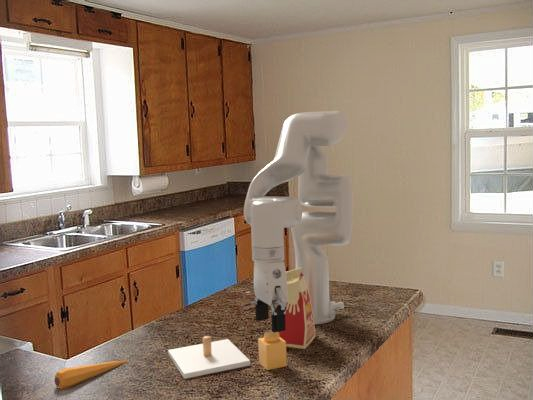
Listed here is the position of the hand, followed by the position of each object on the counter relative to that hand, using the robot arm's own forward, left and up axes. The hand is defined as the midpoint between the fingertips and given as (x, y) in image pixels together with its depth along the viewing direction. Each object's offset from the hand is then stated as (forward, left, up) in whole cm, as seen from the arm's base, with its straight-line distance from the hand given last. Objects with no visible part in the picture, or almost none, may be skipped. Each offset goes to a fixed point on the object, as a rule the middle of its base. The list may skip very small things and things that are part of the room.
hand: (270, 325), depth 132 cm
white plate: (+12, -11, -10) cm, 19 cm away
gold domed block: (-1, -1, -10) cm, 10 cm away
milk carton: (-12, -12, -10) cm, 19 cm away
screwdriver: (-21, -47, -10) cm, 52 cm away
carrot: (+38, -15, -10) cm, 42 cm away
